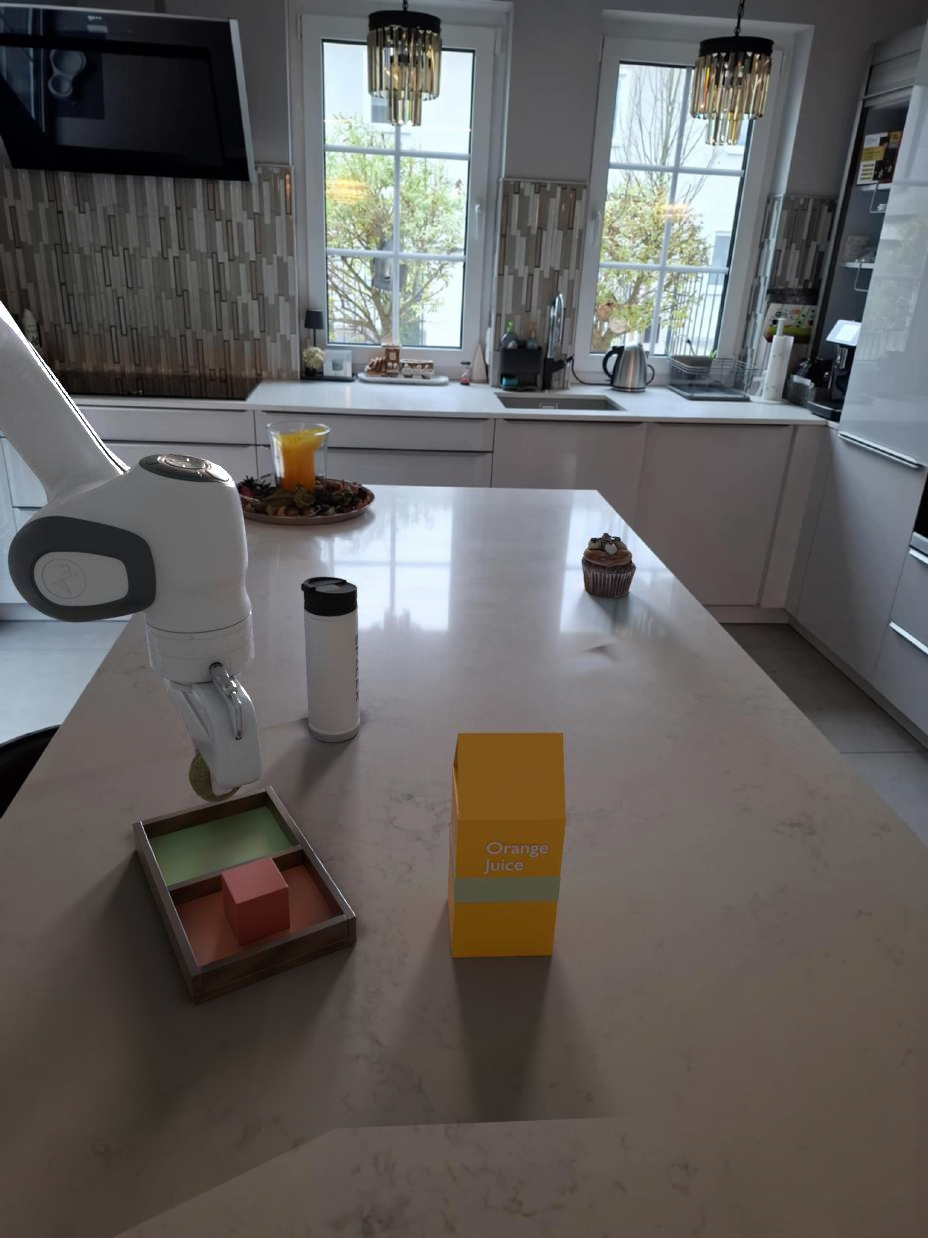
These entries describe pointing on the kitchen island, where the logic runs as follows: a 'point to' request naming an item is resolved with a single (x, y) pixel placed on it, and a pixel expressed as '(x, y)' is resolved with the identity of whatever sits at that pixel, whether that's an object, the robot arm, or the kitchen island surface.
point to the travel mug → (331, 658)
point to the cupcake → (607, 567)
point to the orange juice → (505, 843)
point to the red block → (255, 900)
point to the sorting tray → (193, 901)
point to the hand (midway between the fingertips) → (214, 777)
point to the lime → (205, 781)
